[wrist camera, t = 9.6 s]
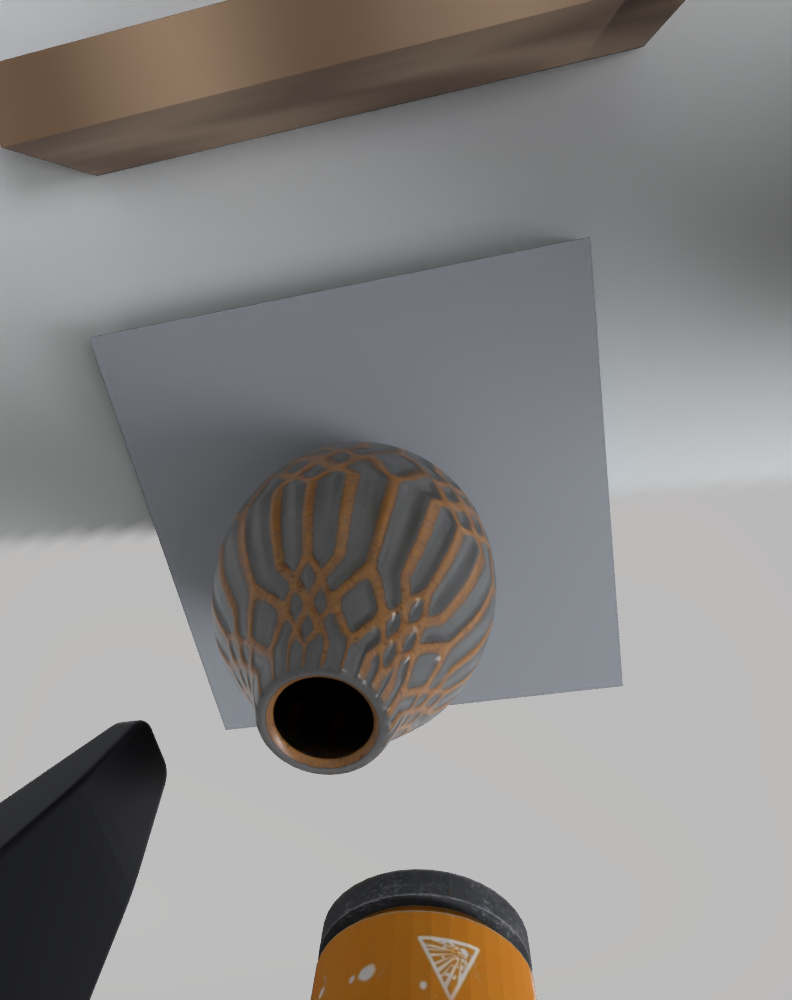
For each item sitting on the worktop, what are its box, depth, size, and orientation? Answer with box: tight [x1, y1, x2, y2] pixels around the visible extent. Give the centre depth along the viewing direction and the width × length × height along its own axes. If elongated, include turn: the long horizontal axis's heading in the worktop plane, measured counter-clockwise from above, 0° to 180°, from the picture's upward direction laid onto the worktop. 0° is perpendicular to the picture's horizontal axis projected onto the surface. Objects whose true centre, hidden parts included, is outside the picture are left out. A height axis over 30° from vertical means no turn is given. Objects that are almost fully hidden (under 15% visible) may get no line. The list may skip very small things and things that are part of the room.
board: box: [89, 237, 623, 730], centre depth 19 cm, size 14×14×2 cm
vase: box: [212, 442, 496, 775], centre depth 15 cm, size 7×7×9 cm
